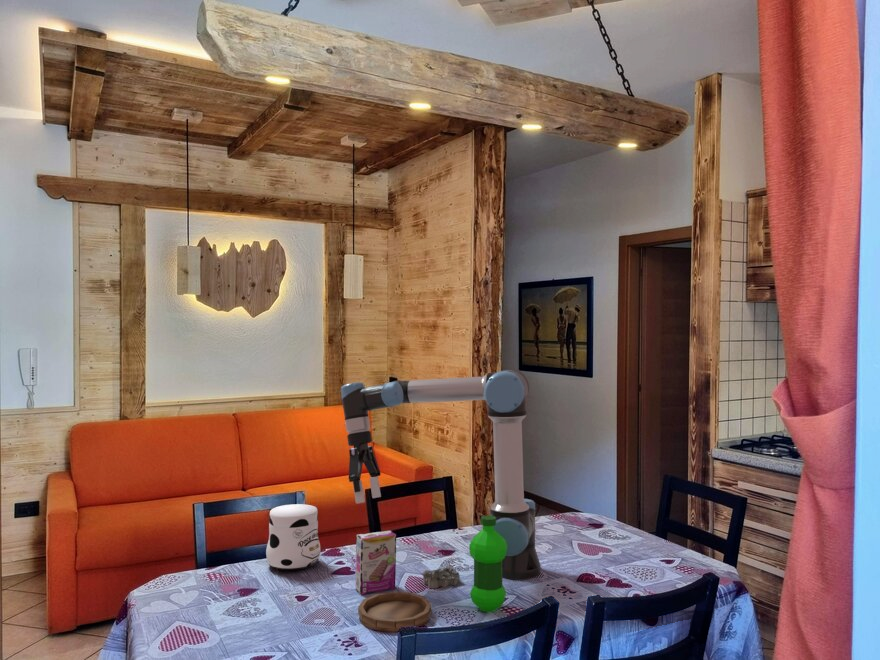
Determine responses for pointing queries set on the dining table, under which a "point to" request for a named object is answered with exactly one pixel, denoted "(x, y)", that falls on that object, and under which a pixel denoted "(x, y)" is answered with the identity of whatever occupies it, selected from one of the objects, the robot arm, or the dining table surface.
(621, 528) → the dining table surface
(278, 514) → the milk container
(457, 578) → the egg carton
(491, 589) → the plastic bottle
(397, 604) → the tray
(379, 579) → the candy bar box
